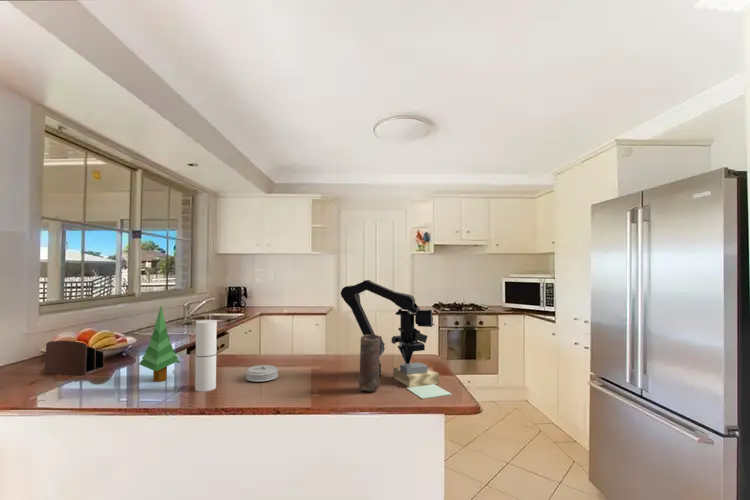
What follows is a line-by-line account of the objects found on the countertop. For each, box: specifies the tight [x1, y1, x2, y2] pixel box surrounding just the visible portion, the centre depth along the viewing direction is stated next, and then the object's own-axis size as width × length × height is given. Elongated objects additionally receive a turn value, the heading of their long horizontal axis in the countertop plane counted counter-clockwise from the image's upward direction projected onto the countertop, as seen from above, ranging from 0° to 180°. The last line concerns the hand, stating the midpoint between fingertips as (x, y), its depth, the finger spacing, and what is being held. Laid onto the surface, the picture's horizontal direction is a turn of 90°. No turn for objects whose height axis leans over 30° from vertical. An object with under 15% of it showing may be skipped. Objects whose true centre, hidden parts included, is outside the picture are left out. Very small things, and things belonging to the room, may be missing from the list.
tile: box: [399, 362, 429, 375], centre depth 159 cm, size 9×6×2 cm, turn 112°
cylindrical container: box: [194, 319, 218, 393], centre depth 151 cm, size 7×7×25 cm
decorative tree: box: [138, 305, 182, 383], centre depth 161 cm, size 14×16×30 cm
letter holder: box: [44, 340, 105, 377], centre depth 173 cm, size 10×20×14 cm, turn 81°
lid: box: [245, 364, 279, 382], centre depth 163 cm, size 13×13×5 cm
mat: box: [406, 384, 452, 400], centre depth 147 cm, size 12×12×1 cm
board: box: [393, 366, 440, 388], centre depth 160 cm, size 13×14×4 cm
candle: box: [358, 334, 381, 393], centre depth 149 cm, size 8×7×20 cm
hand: (407, 364), depth 164 cm, fingers closed
